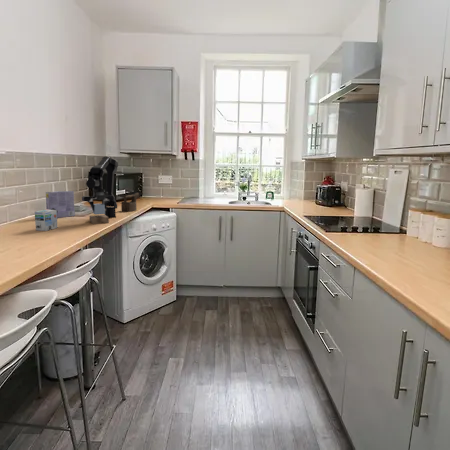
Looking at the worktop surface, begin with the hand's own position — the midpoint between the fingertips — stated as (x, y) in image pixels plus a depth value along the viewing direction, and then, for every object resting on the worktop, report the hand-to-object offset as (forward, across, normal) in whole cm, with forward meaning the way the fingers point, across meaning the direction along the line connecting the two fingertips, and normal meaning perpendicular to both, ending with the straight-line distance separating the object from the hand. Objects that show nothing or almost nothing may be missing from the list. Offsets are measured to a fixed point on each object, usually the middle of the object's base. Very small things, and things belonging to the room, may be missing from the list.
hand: (98, 211), depth 233 cm
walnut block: (+7, 0, 0) cm, 7 cm away
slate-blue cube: (+1, 0, 0) cm, 1 cm away
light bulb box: (+7, -32, -10) cm, 34 cm away
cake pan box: (+7, -17, +30) cm, 35 cm away
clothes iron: (+7, +35, +39) cm, 53 cm away
